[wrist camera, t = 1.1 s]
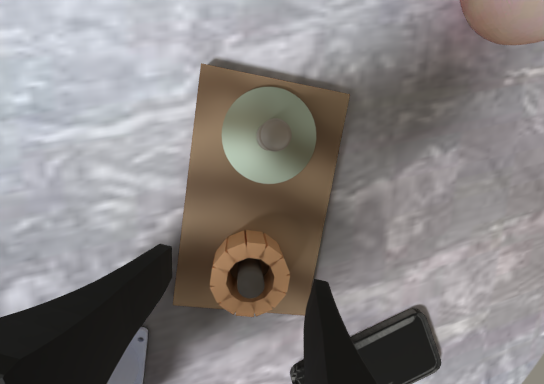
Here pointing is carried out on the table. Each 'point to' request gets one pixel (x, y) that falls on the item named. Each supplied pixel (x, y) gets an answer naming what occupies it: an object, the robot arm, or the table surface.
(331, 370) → the robot arm
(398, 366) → the black wedge
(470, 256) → the table surface
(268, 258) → the ring
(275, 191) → the stand board
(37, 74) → the table surface
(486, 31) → the decorative fruit
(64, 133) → the table surface
